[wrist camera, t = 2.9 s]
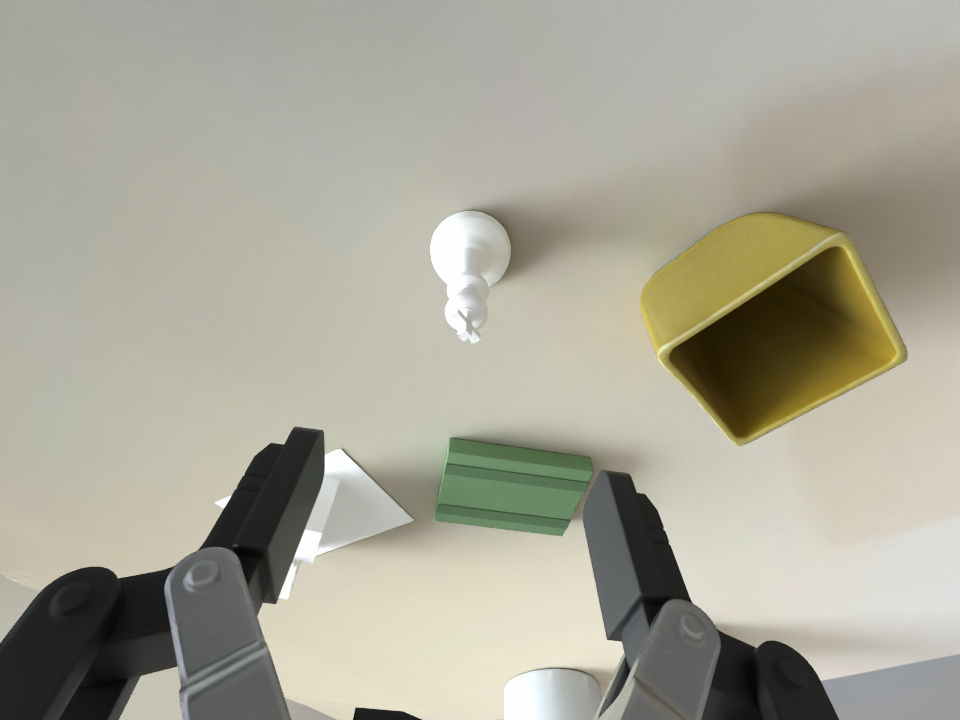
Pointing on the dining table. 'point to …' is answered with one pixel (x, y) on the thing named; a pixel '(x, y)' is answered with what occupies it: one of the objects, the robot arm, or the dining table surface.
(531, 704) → the utensil holder
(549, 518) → the green flat rectangular block
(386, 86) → the dining table surface
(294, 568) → the napkin holder
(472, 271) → the chess piece
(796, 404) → the flower pot
